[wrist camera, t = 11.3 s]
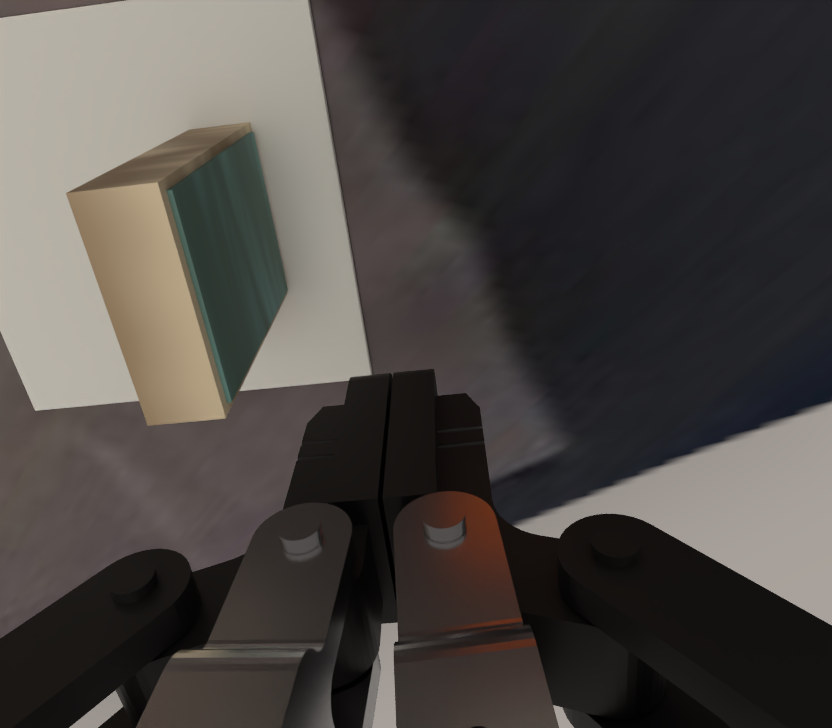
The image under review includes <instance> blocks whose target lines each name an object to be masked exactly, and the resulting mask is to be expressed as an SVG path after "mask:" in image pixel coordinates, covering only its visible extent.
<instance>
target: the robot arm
mask: <svg viewBox="0 0 832 728" xmlns="http://www.w3.org/2000/svg"><path fill="white" fill-rule="evenodd" d="M396 622H398V642H395V644H394V675H395V700H396V726H397V728H559V727H558V723H557V719H556V715H555V712H554V708H553V705H556V706H560V707H563V710H564V712H565V714H566V716H567V718H568V720H569V721H570V723H571V724H572V725H573V726H574V728H832V625H830V624H828V623H826V622H824V621H822V620H821V619H819V618H817V617H815V616H814V615H812V614H810V613H808V612H806V611H805V610H803V609H801V608H799V607H797V606H796V605H794V604H792V603H790V602H789V601H787V600H785V599H783V598H781V597H780V596H778V595H776V594H774V593H773V592H771V591H769V590H767V589H765V588H764V587H762V586H760V585H758V584H756V583H755V582H753V581H751V580H749V579H747V578H746V577H744V576H742V575H740V574H738V573H737V572H735V571H733V570H731V569H730V568H728V567H726V566H724V565H722V564H721V563H719V562H717V561H715V560H713V559H712V558H710V557H708V556H706V555H705V554H703V553H701V552H699V551H697V550H696V549H694V548H692V547H690V546H688V545H686V544H685V543H683V542H681V541H679V540H678V539H676V538H674V537H672V536H670V535H669V534H667V533H665V532H663V531H662V530H660V529H658V528H656V527H654V526H653V525H651V524H649V523H647V522H645V521H643V520H640V519H637V518H634V517H630V516H625V515H618V514H599V515H593V516H589V517H585V518H583V519H580V520H578V521H576V522H574V523H573V524H571V525H570V526H569V527H568V528H566V529H565V531H564V532H563V533H562V535H561V537H560V539H558V538H552V537H546V536H540V535H535V534H531V533H528V532H525V531H522V530H520V529H518V528H516V527H514V526H512V525H511V524H509V523H507V522H506V521H505V520H504V519H503V518H502V517H501V516H500V515H499V514H498V513H497V511H496V509H495V507H494V505H493V501H492V495H491V488H490V481H489V473H488V466H487V458H486V451H485V444H484V436H483V429H482V421H481V414H480V407H479V406H478V405H477V404H476V403H475V402H474V401H473V400H472V399H471V398H470V397H469V396H468V395H467V394H466V393H463V394H453V395H442V396H437V387H436V379H435V372H434V369H427V370H417V371H407V372H396V373H394V374H393V378H392V375H391V373H387V374H377V375H367V376H356V377H350V379H349V384H348V389H347V394H346V399H345V404H344V405H337V406H326V407H323V408H322V409H321V410H320V411H319V412H318V413H317V414H316V415H315V416H314V417H313V418H312V419H311V420H310V421H309V422H308V423H307V426H306V430H305V433H304V437H303V440H302V446H301V448H300V451H299V455H298V461H297V462H296V465H295V469H294V472H293V476H292V479H291V483H290V486H289V490H288V493H287V497H286V500H285V504H284V508H283V510H281V511H279V512H277V513H275V514H274V515H272V516H271V517H269V518H268V519H267V520H265V521H264V522H263V523H262V524H261V525H260V526H259V528H258V529H257V530H256V531H255V533H254V535H253V537H252V539H251V542H250V544H249V546H248V549H247V551H246V553H245V554H244V555H242V556H239V557H237V558H235V559H232V560H229V561H226V562H223V563H220V564H217V565H214V566H211V567H207V568H204V569H201V570H198V571H195V572H192V570H191V567H190V565H189V562H188V561H187V559H186V558H185V557H184V556H183V555H182V554H180V553H178V552H176V551H172V550H168V549H151V550H145V551H141V552H137V553H134V554H131V555H129V556H126V557H124V558H122V559H120V560H118V561H116V562H114V563H113V564H111V565H109V566H108V567H106V568H105V569H103V570H102V571H100V572H99V573H97V574H96V575H94V576H93V577H91V578H90V579H88V580H87V581H85V582H84V583H82V584H81V585H79V586H78V587H76V588H75V589H73V590H72V591H71V592H69V593H68V594H66V595H65V596H63V597H62V598H60V599H59V600H57V601H56V602H54V603H53V604H51V605H50V606H48V607H47V608H45V609H44V610H42V611H41V612H39V613H38V614H36V615H35V616H33V617H32V618H30V619H29V620H27V621H26V622H25V623H23V624H22V625H20V626H19V627H17V628H16V629H14V630H13V631H11V632H10V633H8V634H7V635H5V636H4V637H2V638H1V639H0V728H69V727H70V726H71V725H73V724H74V723H75V722H76V721H78V720H79V719H80V718H81V717H82V716H84V715H85V714H86V713H87V712H89V711H90V710H91V709H92V708H94V707H95V706H96V705H97V704H99V703H100V702H101V701H102V700H104V699H105V698H106V697H107V696H109V695H110V694H111V693H112V692H113V691H115V690H116V692H117V694H118V696H119V698H120V700H121V702H122V704H123V706H124V707H122V708H121V709H120V710H119V711H118V712H117V713H115V714H114V715H113V716H112V717H111V718H109V719H108V720H107V721H106V722H104V723H103V724H102V725H101V726H100V727H98V728H372V724H373V718H374V712H375V705H376V698H377V691H378V685H379V679H380V671H381V666H380V659H379V655H378V652H379V646H380V634H381V624H382V623H396Z"/></svg>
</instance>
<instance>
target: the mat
mask: <svg viewBox="0 0 832 728" xmlns="http://www.w3.org/2000/svg"><path fill="white" fill-rule="evenodd" d="M247 122H250V124H251V128H252V132H254V137H255V141H256V146H257V150H258V155H259V160H260V164H261V169H262V173H263V178H264V183H265V187H266V192H267V196H268V201H269V205H270V210H271V215H272V219H273V224H274V228H275V233H276V238H277V242H278V247H279V251H280V256H281V260H282V265H283V270H284V274H285V279H286V283H287V288H288V291H287V296H286V298H285V300H284V302H283V304H282V306H281V308H280V310H279V312H278V314H277V316H276V318H275V320H274V322H273V324H272V326H271V328H270V330H269V332H268V334H267V336H266V338H265V340H264V342H263V344H262V346H261V348H260V350H259V352H258V354H257V356H256V358H255V360H254V362H253V364H252V366H251V368H250V370H249V372H248V375H247V377H246V379H245V381H244V383H243V385H242V387H241V389H240V391H245V390H256V389H266V388H276V387H287V386H297V385H308V384H318V383H328V382H339V381H349V379H350V377H356V376H367V375H372V368H371V362H370V356H369V351H368V345H367V339H366V333H365V327H364V321H363V315H362V309H361V303H360V297H359V291H358V285H357V279H356V273H355V267H354V261H353V256H352V250H351V244H350V238H349V232H348V226H347V220H346V214H345V208H344V202H343V196H342V190H341V184H340V178H339V172H338V166H337V161H336V155H335V149H334V143H333V137H332V131H331V125H330V119H329V113H328V107H327V101H326V95H325V89H324V83H323V77H322V71H321V65H320V60H319V54H318V48H317V42H316V36H315V30H314V24H313V18H312V12H311V6H310V0H127V1H120V2H113V3H105V4H98V5H91V6H84V7H77V8H69V9H62V10H55V11H48V12H41V13H33V14H26V15H19V16H12V17H5V18H0V331H1V334H2V336H3V338H4V341H5V343H6V345H7V347H8V350H9V352H10V354H11V357H12V359H13V361H14V363H15V366H16V368H17V370H18V372H19V375H20V377H21V379H22V382H23V384H24V386H25V388H26V391H27V393H28V395H29V398H30V400H31V402H32V404H33V407H34V409H35V411H37V410H48V409H58V408H68V407H79V406H89V405H100V404H110V403H120V402H131V401H139V399H138V396H137V393H136V391H135V388H134V385H133V382H132V379H131V376H130V374H129V371H128V368H127V365H126V362H125V359H124V357H123V354H122V351H121V348H120V345H119V342H118V340H117V337H116V334H115V331H114V328H113V325H112V323H111V320H110V317H109V314H108V311H107V308H106V306H105V303H104V300H103V297H102V294H101V291H100V289H99V286H98V283H97V280H96V277H95V274H94V272H93V269H92V266H91V263H90V260H89V257H88V255H87V252H86V249H85V246H84V243H83V241H82V238H81V235H80V232H79V229H78V226H77V224H76V221H75V218H74V215H73V212H72V209H71V207H70V204H69V201H68V198H67V195H66V193H67V192H69V191H71V190H73V189H75V188H77V187H79V186H81V185H83V184H85V183H87V182H88V181H90V180H92V179H94V178H96V177H98V176H100V175H102V174H104V173H106V172H108V171H110V170H112V169H114V168H116V167H118V166H119V165H121V164H123V163H125V162H127V161H129V160H131V159H133V158H135V157H137V156H139V155H141V154H143V153H145V152H147V151H149V150H151V149H152V148H154V147H156V146H158V145H160V144H162V143H164V142H166V141H168V140H170V139H172V138H174V137H176V136H178V135H180V134H182V133H183V132H185V131H187V130H191V129H199V128H207V127H215V126H223V125H231V124H239V123H247Z"/></svg>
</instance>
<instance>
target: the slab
mask: <svg viewBox="0 0 832 728" xmlns="http://www.w3.org/2000/svg"><path fill="white" fill-rule="evenodd" d="M66 195H67V198H68V201H69V204H70V207H71V209H72V212H73V215H74V218H75V221H76V224H77V226H78V229H79V232H80V235H81V238H82V241H83V243H84V246H85V249H86V252H87V255H88V257H89V260H90V263H91V266H92V269H93V272H94V274H95V277H96V280H97V283H98V286H99V289H100V291H101V294H102V297H103V300H104V303H105V306H106V308H107V311H108V314H109V317H110V320H111V323H112V325H113V328H114V331H115V334H116V337H117V340H118V342H119V345H120V348H121V351H122V354H123V357H124V359H125V362H126V365H127V368H128V371H129V374H130V376H131V379H132V382H133V385H134V388H135V391H136V393H137V396H138V399H139V402H140V405H141V408H142V410H143V413H144V416H145V419H146V422H147V425H148V426H149V425H160V424H171V423H182V422H192V421H203V420H214V419H225V418H226V417H227V415H228V413H229V411H230V409H231V407H232V405H233V403H234V401H235V399H236V397H237V395H238V393H239V391H240V389H241V387H242V385H243V383H244V381H245V379H246V377H247V375H248V372H249V370H250V368H251V366H252V364H253V362H254V360H255V358H256V356H257V354H258V352H259V350H260V348H261V346H262V344H263V342H264V340H265V338H266V336H267V334H268V332H269V330H270V328H271V326H272V324H273V322H274V320H275V318H276V316H277V314H278V312H279V310H280V308H281V306H282V304H283V302H284V300H285V298H286V296H287V291H288V288H287V283H286V279H285V274H284V270H283V265H282V260H281V256H280V251H279V247H278V242H277V238H276V233H275V228H274V224H273V219H272V215H271V210H270V205H269V201H268V196H267V192H266V187H265V183H264V178H263V173H262V169H261V164H260V160H259V155H258V150H257V146H256V141H255V137H254V132H252V128H251V124H250V122H247V123H239V124H231V125H223V126H215V127H207V128H199V129H191V130H187V131H185V132H183V133H182V134H180V135H178V136H176V137H174V138H172V139H170V140H168V141H166V142H164V143H162V144H160V145H158V146H156V147H154V148H152V149H151V150H149V151H147V152H145V153H143V154H141V155H139V156H137V157H135V158H133V159H131V160H129V161H127V162H125V163H123V164H121V165H119V166H118V167H116V168H114V169H112V170H110V171H108V172H106V173H104V174H102V175H100V176H98V177H96V178H94V179H92V180H90V181H88V182H87V183H85V184H83V185H81V186H79V187H77V188H75V189H73V190H71V191H69V192H67V193H66Z"/></svg>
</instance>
